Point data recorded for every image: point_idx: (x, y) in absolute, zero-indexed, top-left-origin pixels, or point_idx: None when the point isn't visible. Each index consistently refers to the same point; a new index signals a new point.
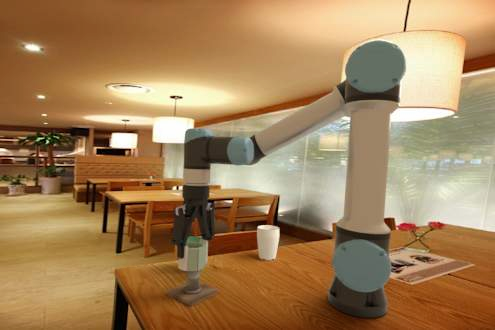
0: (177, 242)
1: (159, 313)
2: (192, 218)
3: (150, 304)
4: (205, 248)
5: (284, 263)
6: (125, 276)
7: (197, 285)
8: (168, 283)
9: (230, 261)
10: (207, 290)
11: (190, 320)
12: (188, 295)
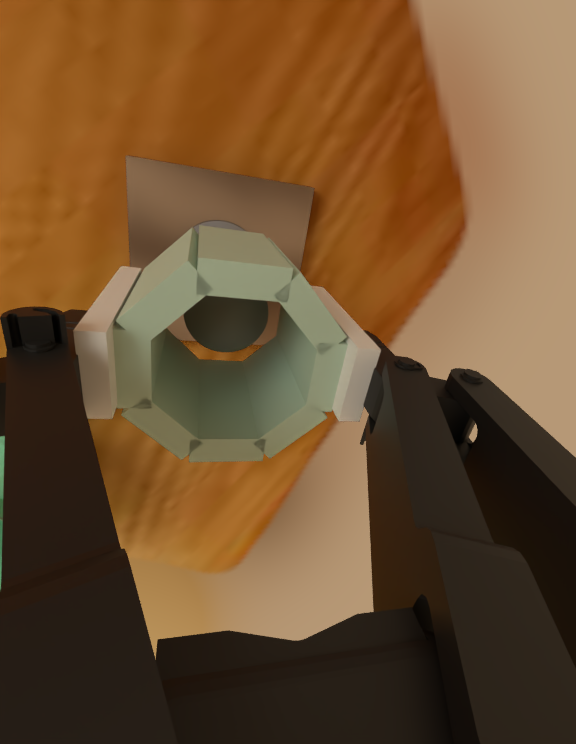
0: (494, 385)
1: (403, 258)
2: (514, 585)
3: (366, 330)
4: (201, 254)
5: None
6: (256, 527)
7: None
8: None
9: None
10: (174, 200)
11: (404, 109)
12: None
